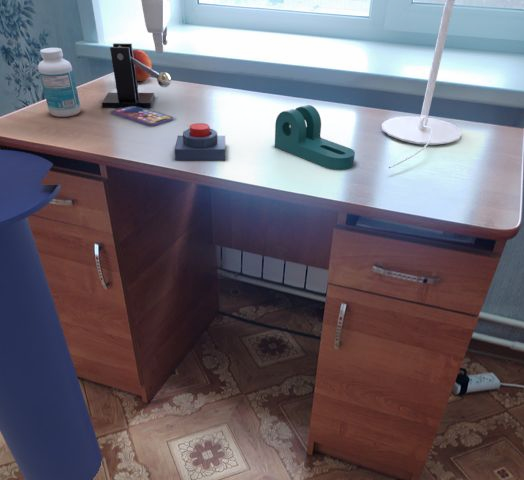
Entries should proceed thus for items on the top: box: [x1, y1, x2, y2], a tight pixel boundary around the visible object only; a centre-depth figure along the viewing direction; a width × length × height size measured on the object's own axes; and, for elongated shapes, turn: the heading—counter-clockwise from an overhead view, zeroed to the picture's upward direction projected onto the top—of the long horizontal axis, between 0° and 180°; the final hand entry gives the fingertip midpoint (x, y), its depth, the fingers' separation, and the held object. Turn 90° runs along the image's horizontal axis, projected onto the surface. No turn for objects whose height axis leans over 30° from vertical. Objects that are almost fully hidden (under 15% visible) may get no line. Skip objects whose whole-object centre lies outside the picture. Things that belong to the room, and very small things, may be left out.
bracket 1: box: [101, 42, 155, 109], centre depth 126 cm, size 12×9×13 cm
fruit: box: [132, 49, 153, 82], centre depth 143 cm, size 8×8×8 cm
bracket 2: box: [274, 104, 356, 171], centre depth 103 cm, size 18×7×8 cm, turn 43°
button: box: [189, 122, 211, 137], centre depth 102 cm, size 4×4×2 cm
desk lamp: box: [381, 0, 463, 169], centre depth 95 cm, size 37×18×45 cm, turn 169°
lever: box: [118, 45, 172, 88], centre depth 125 cm, size 14×3×3 cm, turn 93°
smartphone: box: [112, 106, 174, 127], centre depth 122 cm, size 1×7×15 cm
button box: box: [174, 128, 226, 161], centre depth 103 cm, size 10×8×4 cm
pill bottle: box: [37, 47, 82, 118], centre depth 118 cm, size 8×7×14 cm
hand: (161, 48), depth 122 cm, fingers open, 8 cm apart
